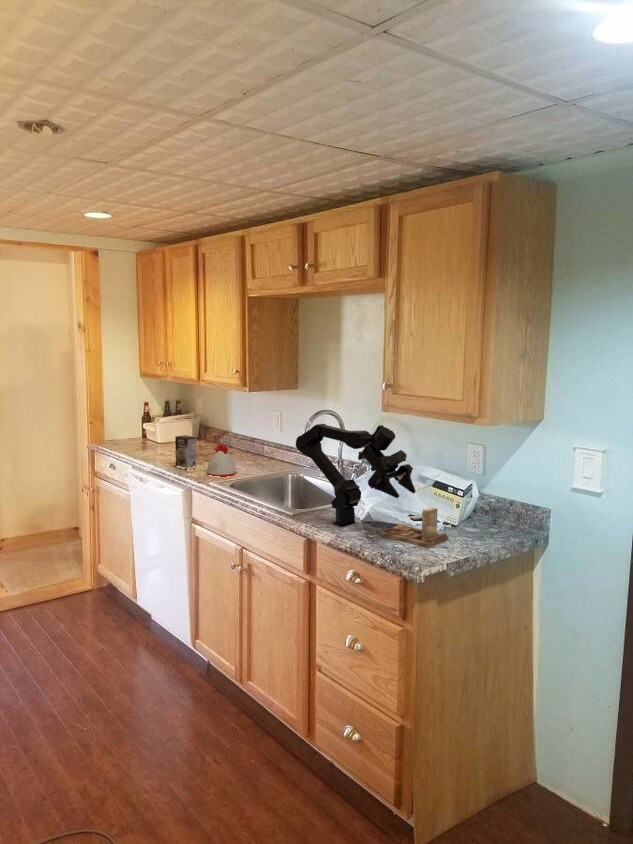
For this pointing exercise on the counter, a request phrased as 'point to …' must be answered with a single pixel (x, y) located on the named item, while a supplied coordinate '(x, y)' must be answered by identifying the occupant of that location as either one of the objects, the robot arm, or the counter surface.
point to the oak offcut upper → (402, 529)
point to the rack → (416, 538)
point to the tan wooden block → (429, 523)
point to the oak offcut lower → (404, 534)
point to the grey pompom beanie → (221, 463)
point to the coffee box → (185, 451)
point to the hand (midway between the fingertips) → (406, 494)
